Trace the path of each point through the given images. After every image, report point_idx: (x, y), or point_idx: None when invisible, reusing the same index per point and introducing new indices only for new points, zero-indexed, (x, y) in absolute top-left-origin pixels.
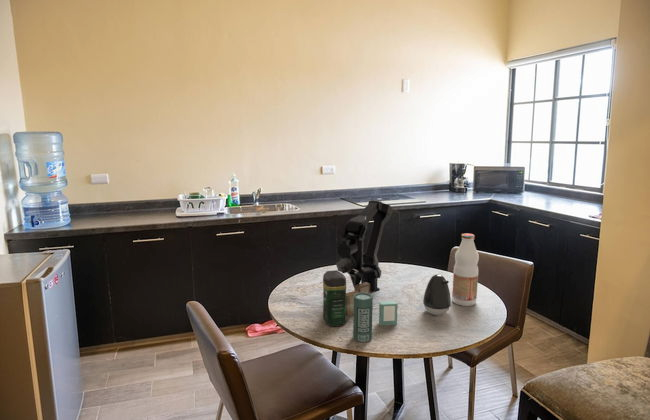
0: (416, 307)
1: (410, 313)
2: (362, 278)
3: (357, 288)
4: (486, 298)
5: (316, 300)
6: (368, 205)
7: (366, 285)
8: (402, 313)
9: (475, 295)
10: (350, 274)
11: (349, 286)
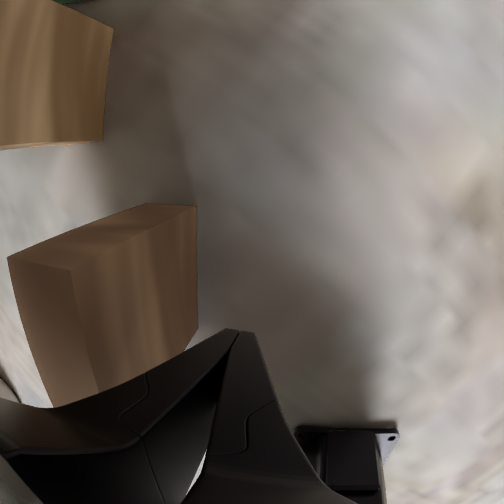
0: (41, 400)
1: (3, 341)
2: (373, 500)
3: (39, 250)
4: None
5: (459, 12)
6: None
7: (49, 379)
8: (5, 321)
9: None
10: (188, 494)
11: (470, 400)
